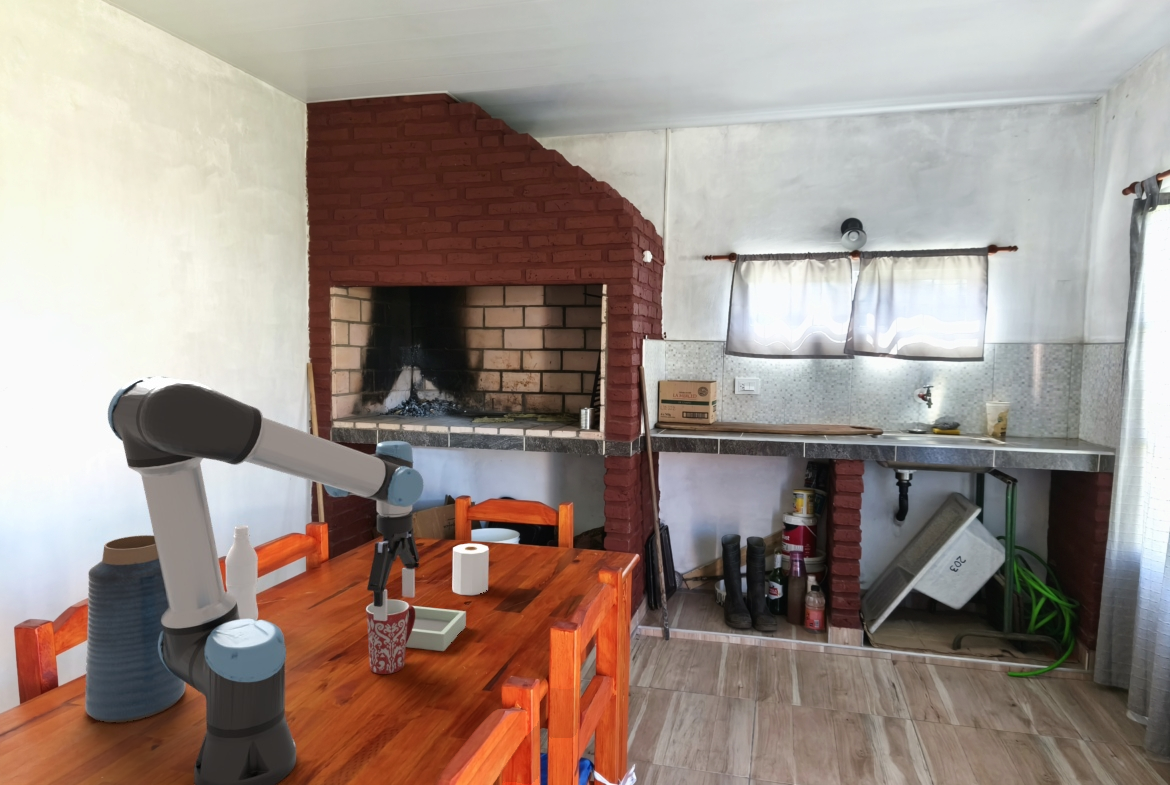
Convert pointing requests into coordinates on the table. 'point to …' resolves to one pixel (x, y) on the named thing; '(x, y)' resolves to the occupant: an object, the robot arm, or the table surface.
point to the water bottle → (242, 573)
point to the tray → (435, 628)
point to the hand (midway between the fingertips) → (395, 607)
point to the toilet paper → (470, 569)
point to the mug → (389, 636)
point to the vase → (127, 634)
